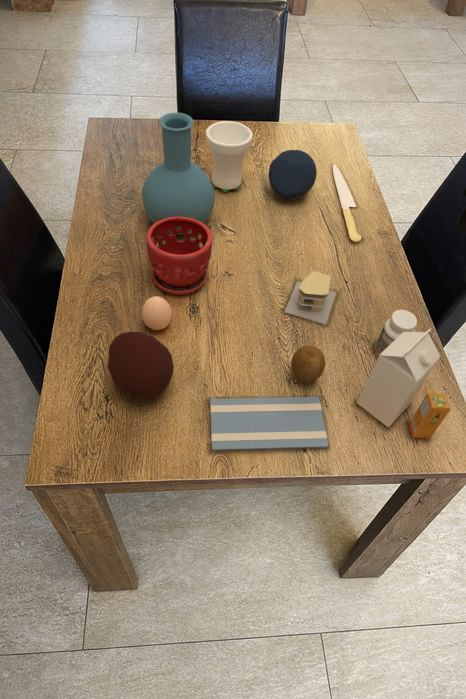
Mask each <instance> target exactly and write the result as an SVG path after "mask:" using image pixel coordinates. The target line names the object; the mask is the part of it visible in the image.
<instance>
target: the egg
mask: <svg viewBox="0 0 466 699" xmlns="http://www.w3.org/2000/svg"><path fill="white" fill-rule="evenodd" d="M141 317H142V321H143V323H144V324H145V326H147V327H148V328H149V329H151V330H155V331H160V330H163V329H166V328H167V327H168V325H169V324H170V323H171V321H172V317H173V311H172V308H171V304H170V303H169V302H168V301H167V300H166V299H165V298H163V297H162V296H158V295H155V296H151V297H150V298H148V299H146V301H145V302H144V303H143V305H142V309H141Z"/></svg>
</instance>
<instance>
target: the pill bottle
mask: <svg viewBox="0 0 466 699" xmlns="http://www.w3.org/2000/svg"><path fill="white" fill-rule="evenodd" d="M417 325H418V319H417V316H416V315H415V314H413V313H412V312H411V311H409V310H406V309H397V310H395V311H393V313H392V314H391V316H390V318H389V319H387V320H386V321H385V323H384V325H383V327H382V330H381V332H380V334H379V335H378V336H379V337H378V338H377V340H376V343H375V346H374V350H375V353H376V354H377V356H378V357H379V355H380V354H381V353H382V352H383V351H384V350H385V349H386V348H387V347H388V346H389V345H390V344H391V343H392V342H393V341H394V340H395V339H397V338H398V337H399V336H400V335H401V334H402V333H403V332H416V326H417Z"/></svg>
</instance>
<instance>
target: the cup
mask: <svg viewBox="0 0 466 699" xmlns="http://www.w3.org/2000/svg"><path fill="white" fill-rule="evenodd" d="M253 136H254V135H253V132H252V130H251V128H249V127H248V126H247V125H245V124H243V123H240V122H237V121H233V120H222V121H218V122H214V123H212V124H210V125H209V126H208V127H207V128H206V130H205V142H206V145H207V148H208V149H209V152H210V155H211V159H212V173H211V184H212V187H213V188H215V189H216V188H217V189H220V190H221V191H222V192H223V193H227V192H229V191H230V190H234V191H238V190H239V188H240V186H241V184H242V180H243V176H242V175H243V174H242V170H243V164H244V160H245V157H246V154H247V153H248V151H249V150H250V148H251V146H252V144H253Z"/></svg>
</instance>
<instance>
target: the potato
mask: <svg viewBox="0 0 466 699" xmlns="http://www.w3.org/2000/svg"><path fill="white" fill-rule="evenodd" d="M174 368H175V367H174V361H173V356H172V353H171V352H170V350H169V349H168V347H167V346H165V344H163V343H162V342H161V341H159V340H158V338H156V337H155V336H153V335H150V334H148V333H145V332H141V331H126V332H121V333H119V334H117V335H116V336H114V338H113V340H112V341H111V342H110V344H109V346H108V360H107V369H108V371H109V374H110V377H111V379H112V382H113V383H114V384H115V385H116V387H118V388H119V389H120V390H121V391H123V392H126V393H127V394H128V395H131V396H134V397H137V398H140V399H153V398H156V397H159V396H160V395H161V394H163V393H164V392H165V391H166V389H167V388H168V386H169V384H170V383H171V380H172V378H173V374H174Z"/></svg>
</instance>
